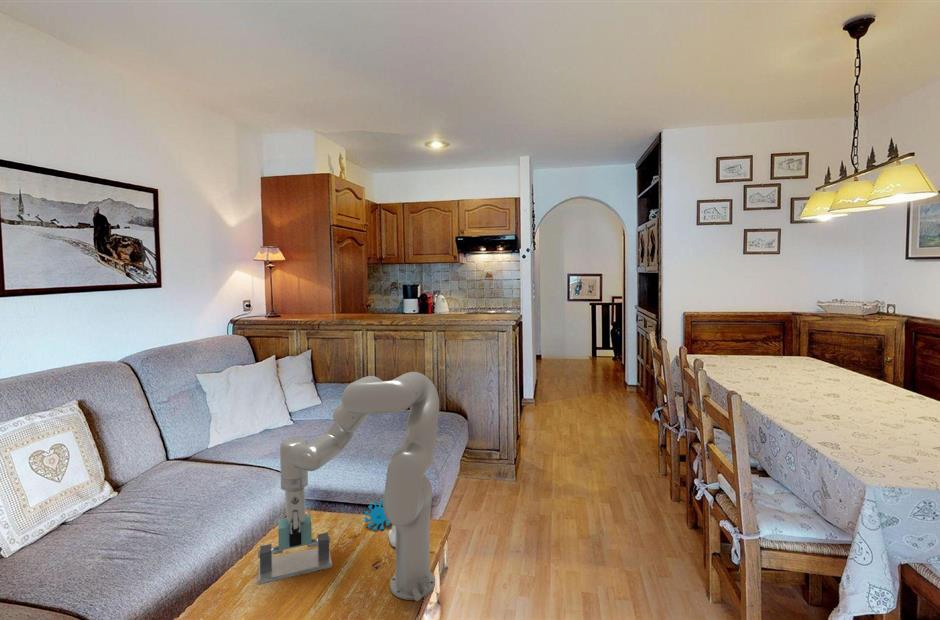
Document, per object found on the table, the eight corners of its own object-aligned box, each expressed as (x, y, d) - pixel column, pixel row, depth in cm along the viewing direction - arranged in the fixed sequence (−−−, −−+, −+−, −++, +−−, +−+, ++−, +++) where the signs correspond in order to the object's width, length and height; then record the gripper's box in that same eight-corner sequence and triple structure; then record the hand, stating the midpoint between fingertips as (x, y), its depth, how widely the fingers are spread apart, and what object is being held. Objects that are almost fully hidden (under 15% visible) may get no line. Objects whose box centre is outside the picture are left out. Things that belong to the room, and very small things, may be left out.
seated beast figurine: (416, 535, 150) (416, 501, 150) (411, 551, 142) (411, 514, 141) (389, 534, 151) (389, 499, 150) (382, 549, 142) (381, 512, 142)
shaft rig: (332, 567, 133) (331, 543, 133) (258, 584, 125) (257, 559, 125) (328, 549, 142) (328, 527, 142) (259, 564, 134) (258, 541, 134)
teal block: (311, 543, 132) (311, 522, 132) (278, 550, 129) (278, 529, 128) (310, 533, 138) (310, 513, 137) (278, 540, 134) (278, 519, 134)
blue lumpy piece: (360, 526, 152) (369, 497, 159) (362, 531, 157) (371, 502, 163) (391, 532, 152) (399, 503, 158) (393, 537, 156) (400, 508, 163)
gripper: (309, 490, 126) (310, 552, 127) (306, 467, 142) (306, 522, 142) (280, 495, 123) (281, 558, 124) (280, 471, 139) (281, 527, 139)
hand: (294, 539), depth 133 cm, fingers closed on teal block, 5 cm apart
